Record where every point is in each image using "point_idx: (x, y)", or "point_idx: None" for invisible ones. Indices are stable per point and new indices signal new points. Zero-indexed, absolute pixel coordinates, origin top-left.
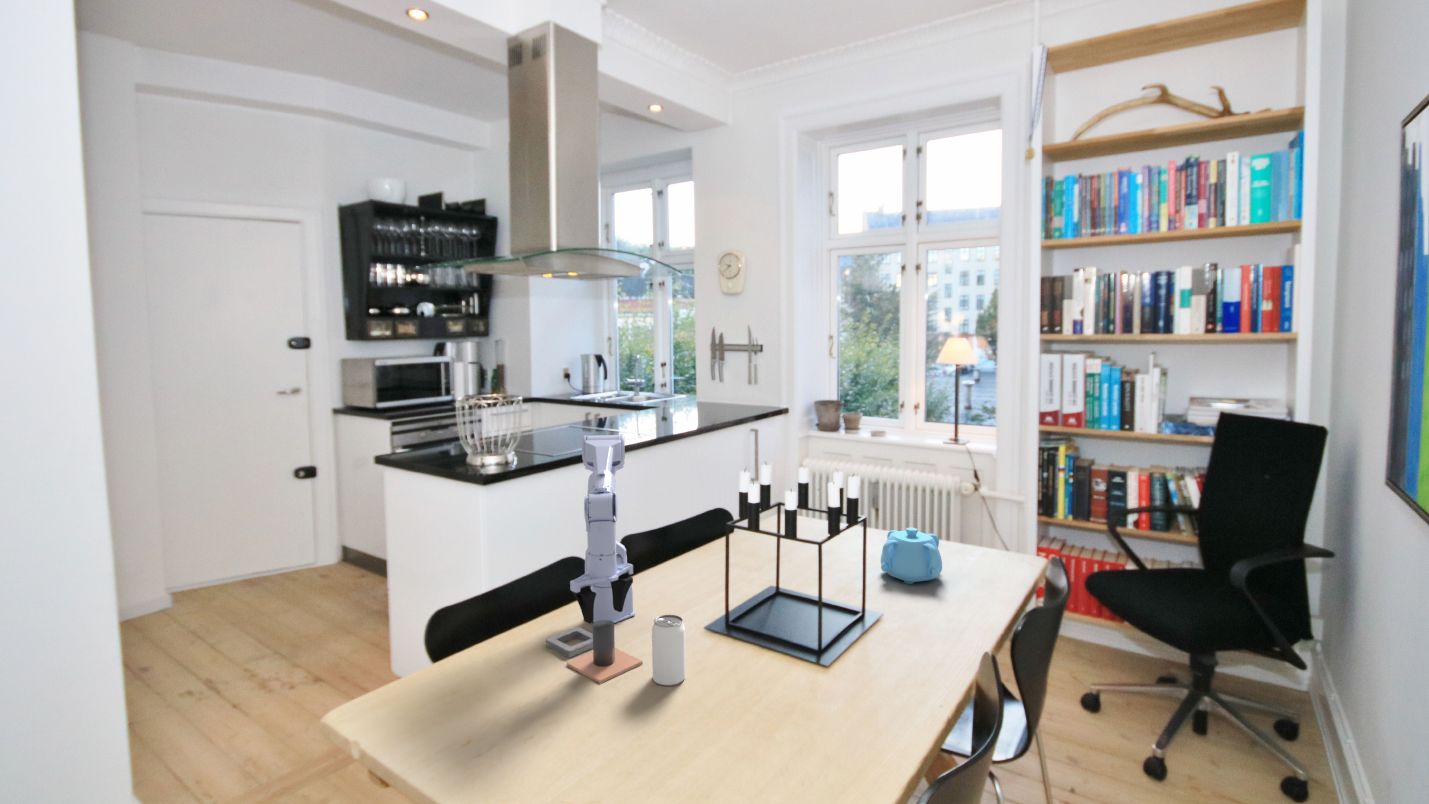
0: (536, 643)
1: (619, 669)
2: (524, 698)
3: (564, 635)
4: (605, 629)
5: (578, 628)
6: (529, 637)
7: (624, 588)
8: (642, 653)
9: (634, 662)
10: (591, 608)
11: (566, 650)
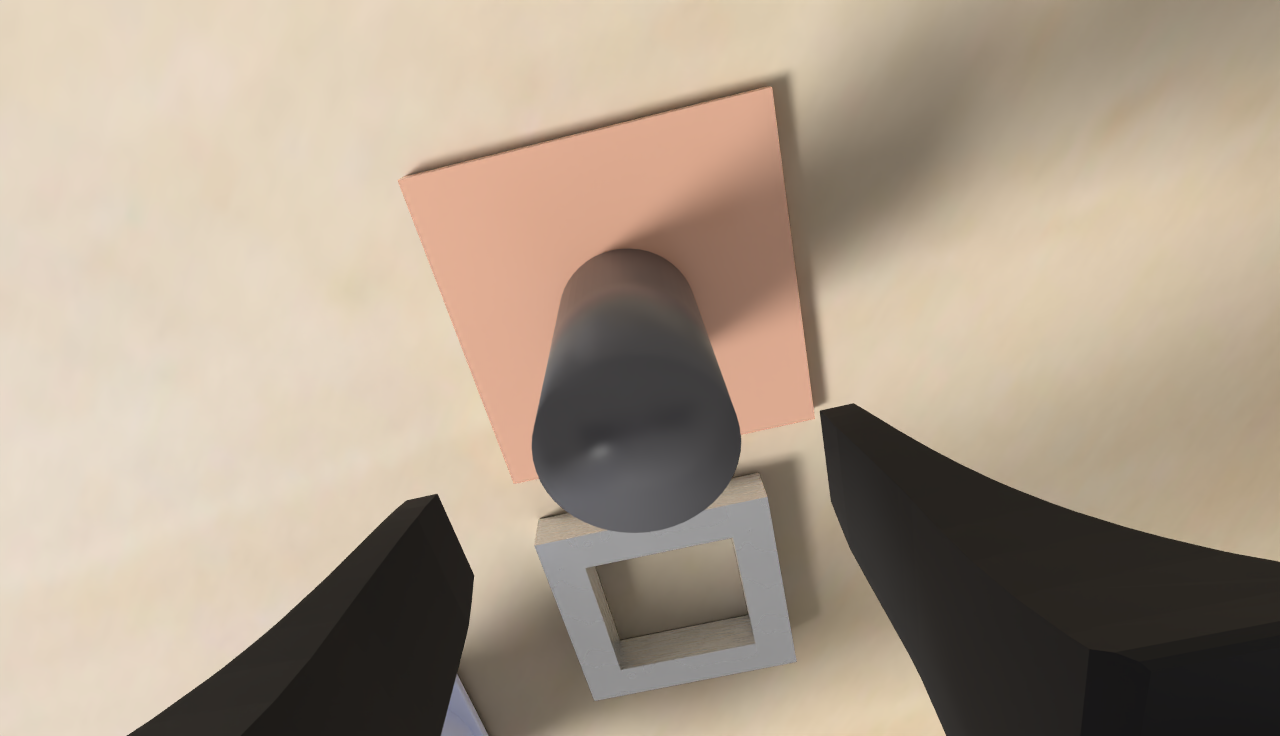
0: (811, 667)
1: (588, 158)
2: (1200, 188)
3: (699, 653)
4: (663, 351)
5: (601, 685)
6: (807, 723)
7: (236, 726)
8: (356, 305)
9: (457, 191)
10: (952, 485)
11: (769, 515)
